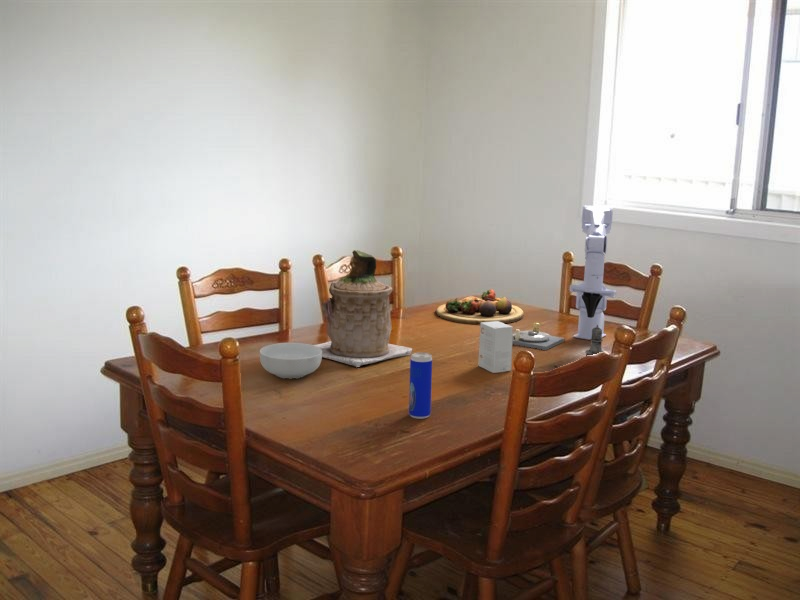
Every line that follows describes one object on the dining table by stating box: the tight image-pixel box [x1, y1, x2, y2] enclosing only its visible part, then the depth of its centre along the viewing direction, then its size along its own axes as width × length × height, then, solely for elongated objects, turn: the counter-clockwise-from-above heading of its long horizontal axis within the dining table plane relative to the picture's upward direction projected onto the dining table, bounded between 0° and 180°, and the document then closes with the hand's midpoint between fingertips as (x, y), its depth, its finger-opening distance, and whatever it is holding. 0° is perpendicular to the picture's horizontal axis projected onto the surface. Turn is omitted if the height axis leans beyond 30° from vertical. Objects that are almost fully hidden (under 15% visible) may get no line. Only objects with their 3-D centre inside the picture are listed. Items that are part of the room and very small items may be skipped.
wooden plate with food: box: [435, 289, 525, 325], centre depth 311 cm, size 32×32×8 cm
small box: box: [477, 321, 514, 374], centre depth 242 cm, size 8×6×13 cm
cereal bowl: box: [259, 342, 323, 380], centre depth 232 cm, size 17×17×7 cm
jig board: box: [512, 328, 565, 351], centre depth 274 cm, size 14×16×5 cm
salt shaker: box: [584, 325, 604, 357], centre depth 249 cm, size 6×6×12 cm
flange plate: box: [513, 322, 551, 342], centre depth 274 cm, size 11×13×4 cm
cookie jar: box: [312, 249, 413, 368], centre depth 252 cm, size 25×25×32 cm
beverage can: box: [408, 352, 433, 420], centre depth 201 cm, size 5×5×15 cm
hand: (590, 317), depth 265 cm, fingers closed
